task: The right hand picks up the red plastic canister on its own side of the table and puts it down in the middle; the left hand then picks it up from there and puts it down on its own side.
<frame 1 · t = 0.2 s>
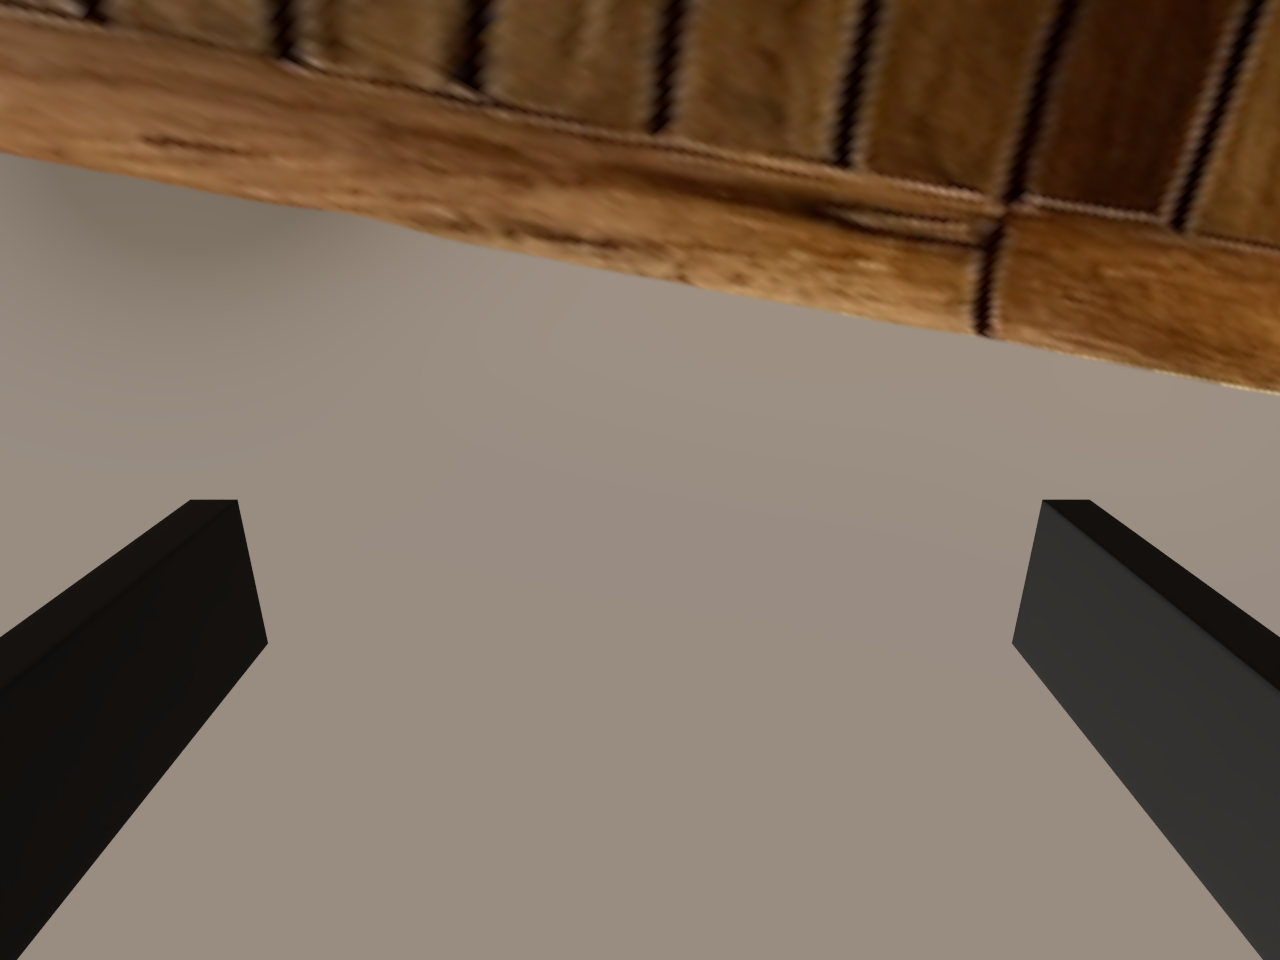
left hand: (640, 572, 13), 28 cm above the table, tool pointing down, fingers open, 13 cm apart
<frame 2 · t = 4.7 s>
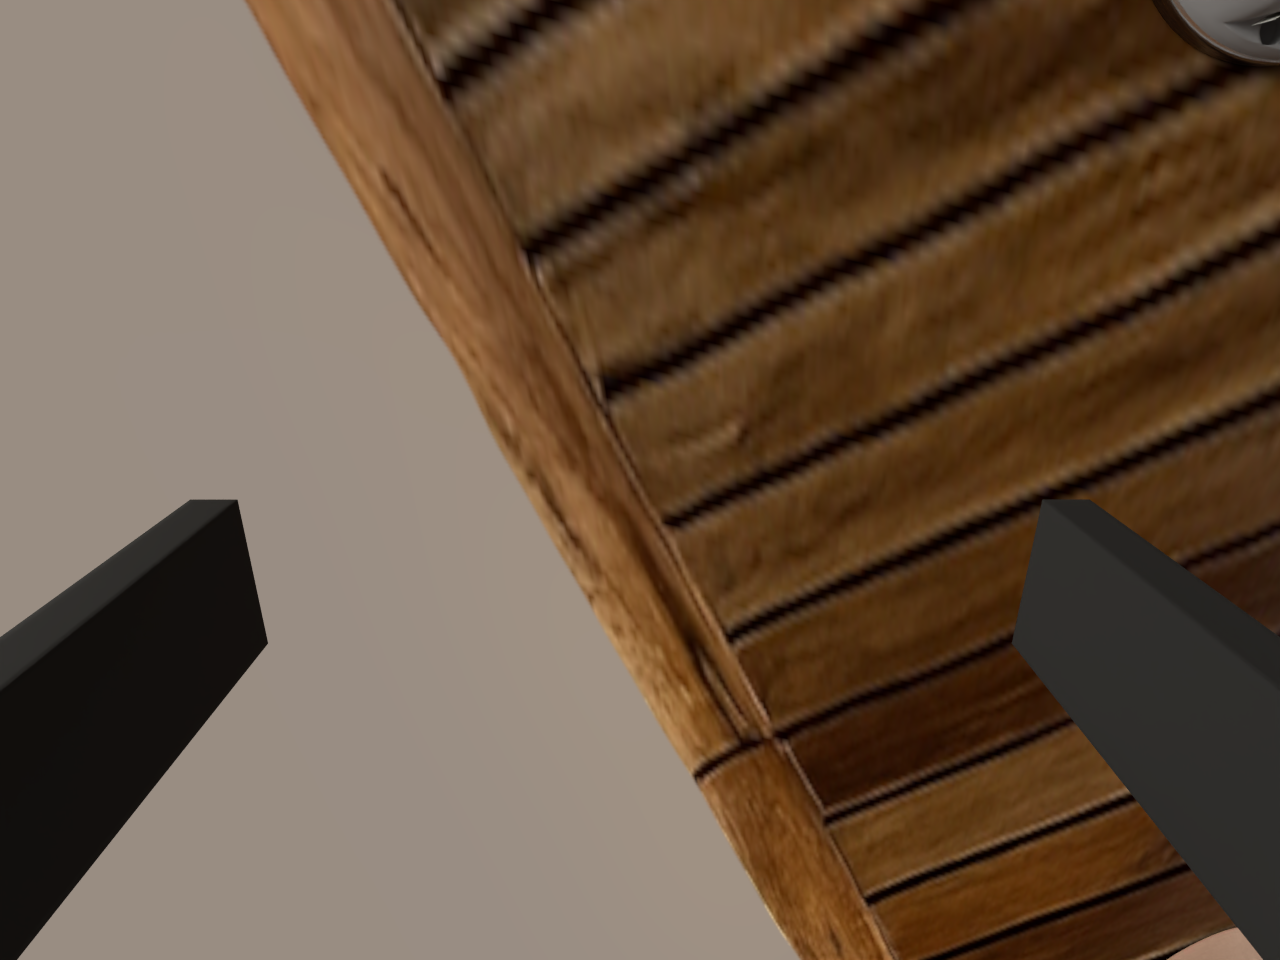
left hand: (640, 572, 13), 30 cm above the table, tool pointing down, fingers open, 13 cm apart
when the right hand's fingers open (3 cm above the table, at t = 12.8 s): canister drops 2 cm, on the table.
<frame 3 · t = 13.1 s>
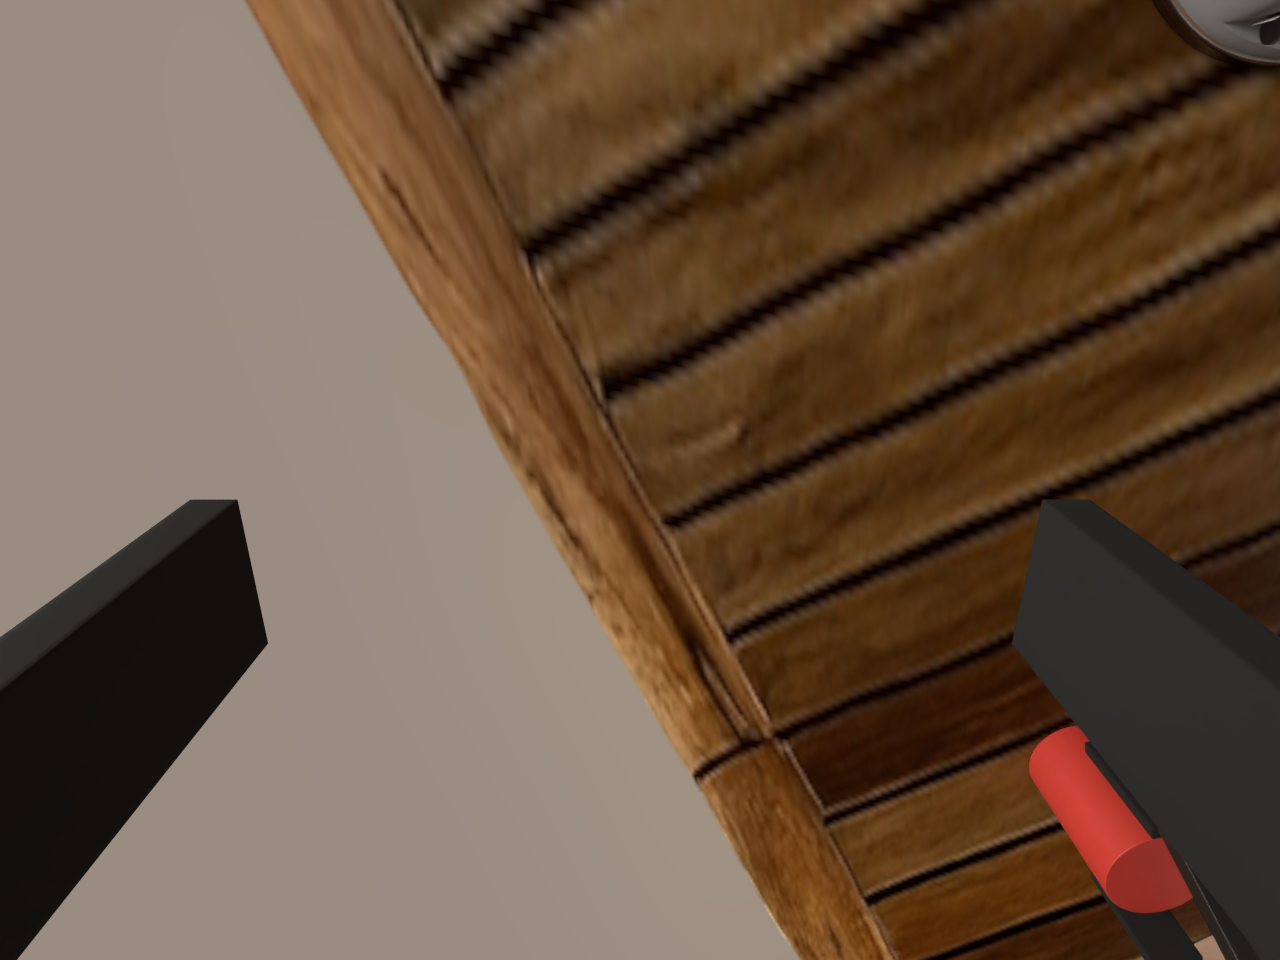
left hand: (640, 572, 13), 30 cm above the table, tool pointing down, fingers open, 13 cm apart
canister: (1072, 760, 52), on the table
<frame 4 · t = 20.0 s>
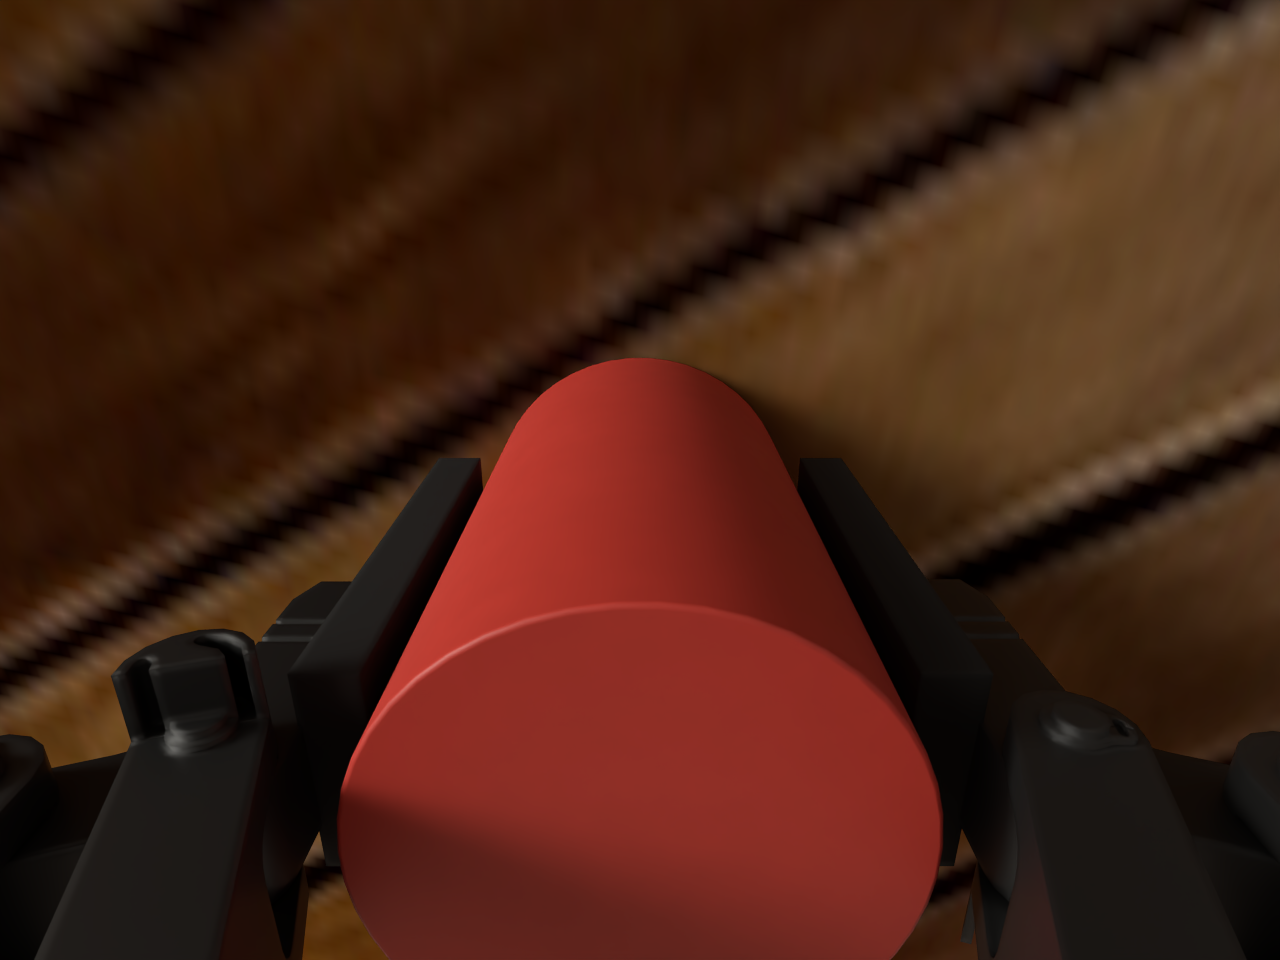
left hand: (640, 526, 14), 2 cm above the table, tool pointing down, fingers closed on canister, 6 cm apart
canister: (640, 496, 16), on the table, touching left hand
when the left hand's fingers open (3 cm above the table, at t = 27.5 s): canister drops 2 cm, on the table.
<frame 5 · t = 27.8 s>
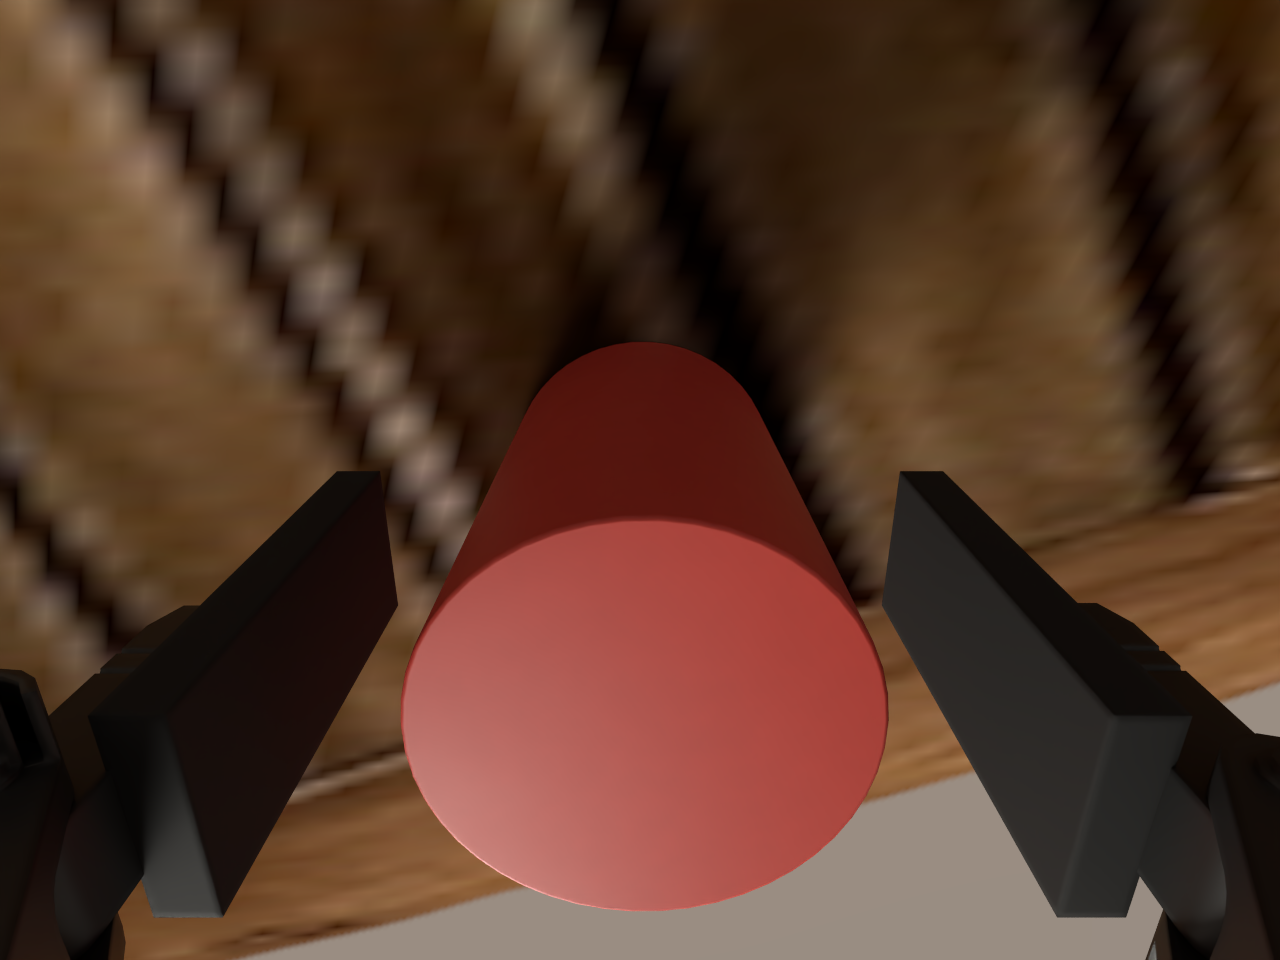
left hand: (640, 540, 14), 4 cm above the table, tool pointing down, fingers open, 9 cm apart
canister: (642, 467, 18), on the table
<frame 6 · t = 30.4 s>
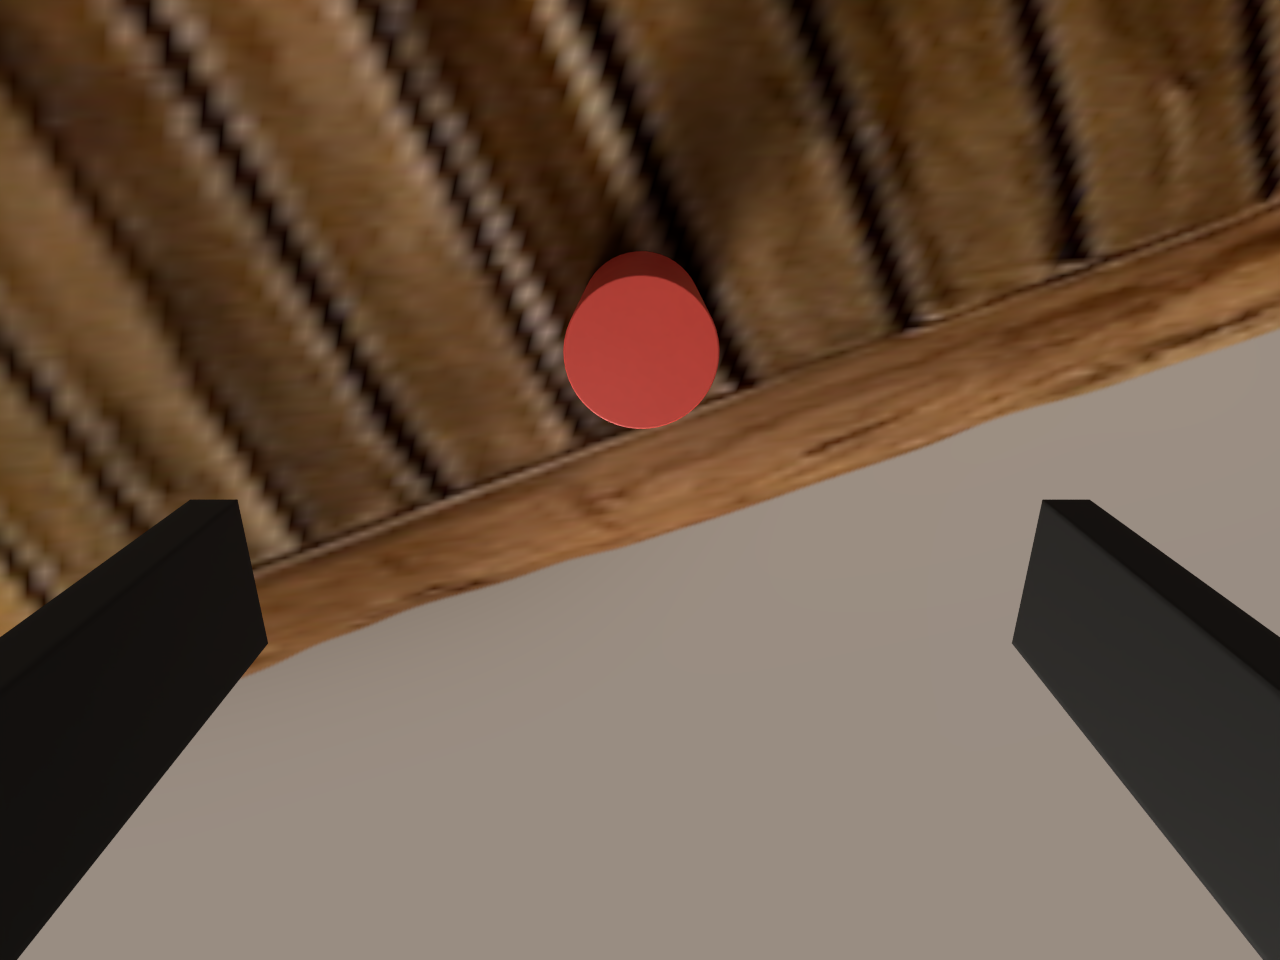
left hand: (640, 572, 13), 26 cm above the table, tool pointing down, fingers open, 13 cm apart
canister: (641, 313, 37), on the table
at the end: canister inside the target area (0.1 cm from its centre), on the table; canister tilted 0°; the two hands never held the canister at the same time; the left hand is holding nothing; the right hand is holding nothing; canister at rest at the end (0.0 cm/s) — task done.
